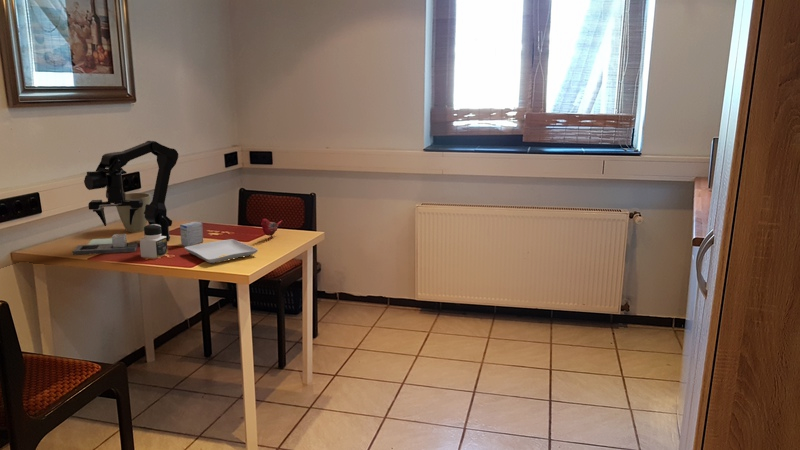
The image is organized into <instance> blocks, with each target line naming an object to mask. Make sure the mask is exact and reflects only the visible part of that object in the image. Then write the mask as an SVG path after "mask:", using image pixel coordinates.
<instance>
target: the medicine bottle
mask: <svg viewBox="0 0 800 450" xmlns="http://www.w3.org/2000/svg"><path fill="white" fill-rule="evenodd" d="M143 232H144V237H142V238H140V239H139V246H140V247H139V248H140V249H139V250H140V258H148V259H149V258H150V259H159V258H161V257H163V256H165V254H166V255H167V253H169V252H168V251H169V250H168V241H167V237H166V236H161V226H160V225H156V224H151V225H149V224H146V226H145V227H144V231H143Z"/></svg>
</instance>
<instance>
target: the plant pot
mask: <svg viewBox="0 0 800 450" xmlns="http://www.w3.org/2000/svg"><path fill="white" fill-rule="evenodd" d="M125 194H126V201H130V200H131V199H138V198H141V199H142V200H143V206H142V207H141V208H139V209H138V210H136V211H135V213H134V217H133V221H132V225H130V208H131V206H115V207H116V210H117V213H118V216H119V218H120V221H121V223H122V225H123V227H124V229H125V231H126V232H127V233H140V232H144V227H145V226H147V223H148V221H147V220H146V218H145V214H144V212H145V206H146V204H148V205H149V204H150V203H151V193H146V192H129V193H126V192H125Z"/></svg>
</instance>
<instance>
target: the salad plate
mask: <svg viewBox="0 0 800 450" xmlns="http://www.w3.org/2000/svg"><path fill="white" fill-rule="evenodd" d="M183 248H184V250H185V251H186V252H188V253H190V254H191V255H193V256H196V257H197V258H199V259H201V260H203V261H205V262H207V263H210V264H216V263H215V262H218V263H220V262H219V261H223V262H225V261H224V260H228V259H233V258H238V257H243V256H246V257H250V256H253V255H255V254H256V253H257V252H258V251H259V249H258V248H256V247H254V246H251V245H249V244H246V243H244V242H241V241H238V240H237V239H232V238H229V239H223V240H216V241H210V242H203V243H198V244H195V245H191V246H184V247H183ZM222 255H227V256H223V257H219V256H222ZM249 255H250V256H249ZM243 258H244V257H243ZM238 259H239V258H238ZM233 260H234V259H233ZM228 261H229V260H228Z"/></svg>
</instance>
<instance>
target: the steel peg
mask: <svg viewBox="0 0 800 450" xmlns="http://www.w3.org/2000/svg"><path fill="white" fill-rule="evenodd" d="M111 238H112V244H113V248H127V243H128V242H127V233H114V234H113V235H112V236H111Z"/></svg>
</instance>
